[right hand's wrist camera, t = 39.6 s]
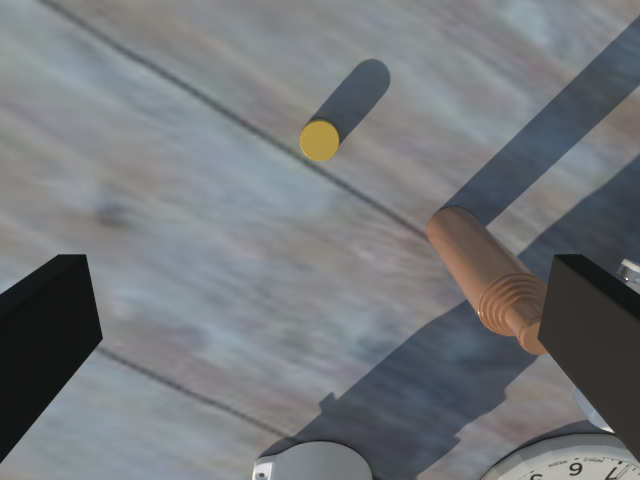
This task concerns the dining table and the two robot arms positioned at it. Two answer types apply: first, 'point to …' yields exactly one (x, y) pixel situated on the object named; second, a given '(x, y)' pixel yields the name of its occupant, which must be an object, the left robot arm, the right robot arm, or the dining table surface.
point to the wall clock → (569, 460)
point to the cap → (319, 139)
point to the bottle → (490, 276)
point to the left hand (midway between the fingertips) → (593, 312)
